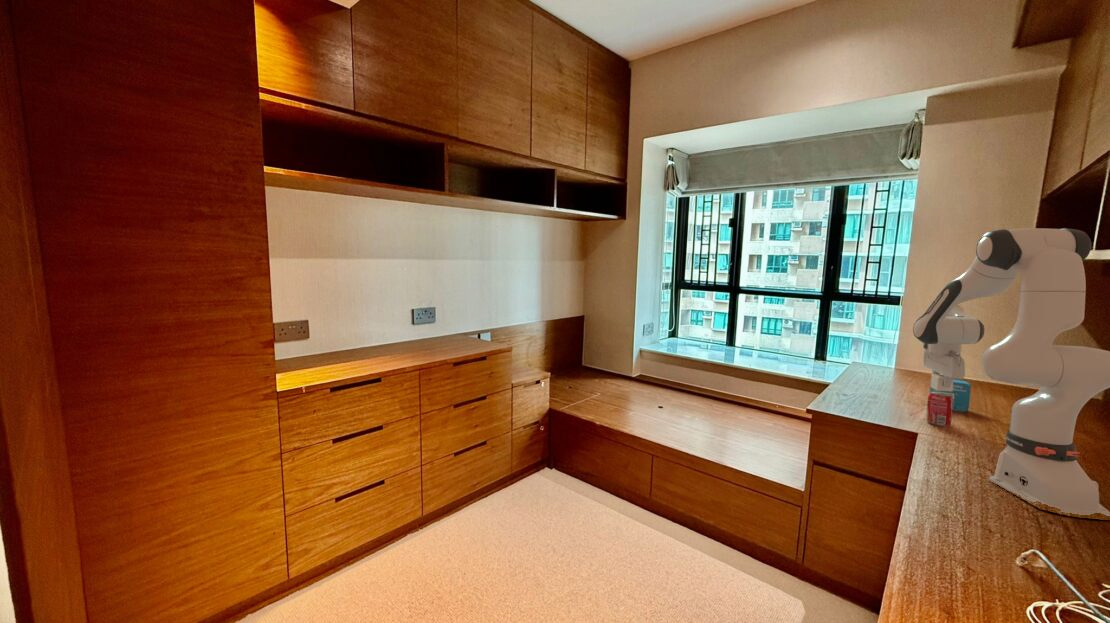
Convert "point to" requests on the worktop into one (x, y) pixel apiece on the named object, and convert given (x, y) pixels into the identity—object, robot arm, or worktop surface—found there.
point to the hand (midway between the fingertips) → (941, 384)
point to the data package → (959, 395)
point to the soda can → (939, 408)
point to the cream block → (939, 383)
